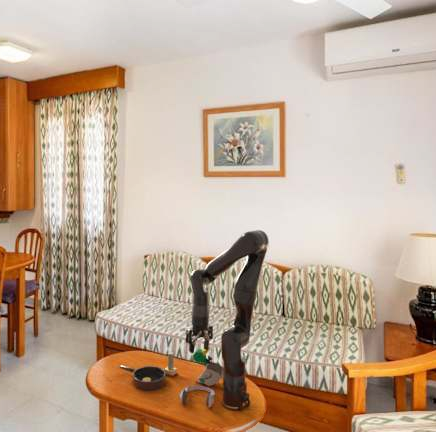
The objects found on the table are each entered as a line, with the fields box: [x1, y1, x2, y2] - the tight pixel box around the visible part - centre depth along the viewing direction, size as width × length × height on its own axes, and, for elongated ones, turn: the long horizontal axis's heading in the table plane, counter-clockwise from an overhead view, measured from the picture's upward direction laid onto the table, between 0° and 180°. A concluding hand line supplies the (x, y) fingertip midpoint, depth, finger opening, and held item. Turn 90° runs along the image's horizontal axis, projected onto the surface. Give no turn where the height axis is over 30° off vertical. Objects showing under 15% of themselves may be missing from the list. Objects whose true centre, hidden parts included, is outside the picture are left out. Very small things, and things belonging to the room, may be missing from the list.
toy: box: [192, 346, 223, 389], centre depth 181 cm, size 6×17×20 cm
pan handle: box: [119, 364, 136, 374], centre depth 188 cm, size 11×2×2 cm, turn 58°
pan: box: [132, 365, 167, 392], centre depth 181 cm, size 15×15×4 cm
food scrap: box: [142, 377, 151, 382], centre depth 182 cm, size 4×4×1 cm
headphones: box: [169, 385, 216, 409], centre depth 167 cm, size 17×6×20 cm
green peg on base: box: [163, 351, 178, 378], centre depth 189 cm, size 5×4×11 cm
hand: (198, 351), depth 172 cm, fingers open, 8 cm apart
